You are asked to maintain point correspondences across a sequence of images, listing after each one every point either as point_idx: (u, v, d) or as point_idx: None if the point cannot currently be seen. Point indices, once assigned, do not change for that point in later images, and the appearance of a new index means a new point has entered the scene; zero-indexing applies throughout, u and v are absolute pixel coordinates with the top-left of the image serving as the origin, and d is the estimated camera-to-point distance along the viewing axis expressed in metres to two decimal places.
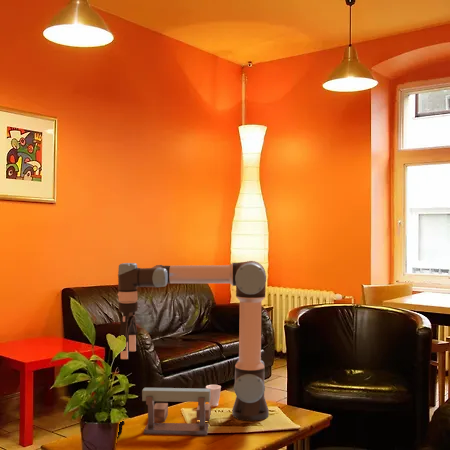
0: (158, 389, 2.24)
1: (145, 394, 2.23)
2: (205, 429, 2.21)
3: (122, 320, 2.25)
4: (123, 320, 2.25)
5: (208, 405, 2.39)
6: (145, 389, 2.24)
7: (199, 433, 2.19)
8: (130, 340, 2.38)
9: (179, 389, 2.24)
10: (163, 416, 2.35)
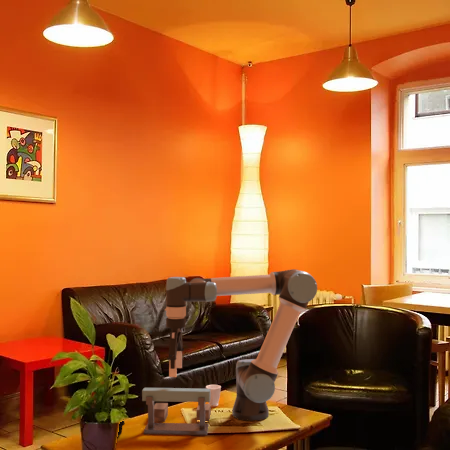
0: (158, 389, 2.24)
1: (145, 394, 2.23)
2: (205, 429, 2.21)
3: (171, 337, 2.17)
4: (172, 337, 2.17)
5: (208, 405, 2.39)
6: (145, 389, 2.24)
7: (199, 433, 2.19)
8: (177, 357, 2.30)
9: (179, 389, 2.24)
10: (163, 416, 2.35)
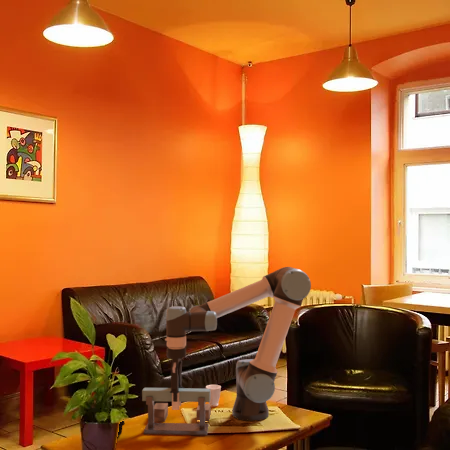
0: (158, 389, 2.24)
1: (145, 394, 2.23)
2: (205, 429, 2.21)
3: (172, 372, 2.18)
4: (173, 372, 2.18)
5: (208, 405, 2.39)
6: (145, 389, 2.24)
7: (199, 433, 2.19)
8: None
9: (179, 389, 2.24)
10: (163, 416, 2.35)
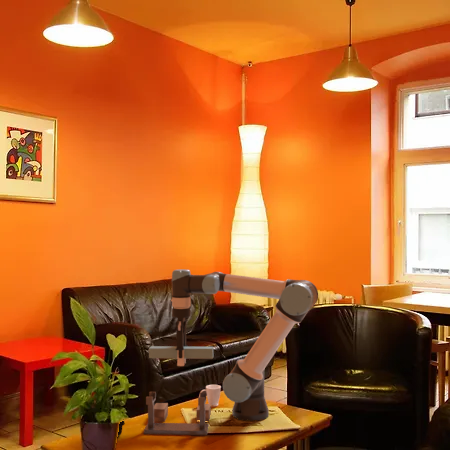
0: (164, 347, 2.38)
1: (151, 352, 2.36)
2: (205, 429, 2.21)
3: (177, 329, 2.31)
4: (178, 329, 2.31)
5: (208, 405, 2.39)
6: (152, 347, 2.38)
7: (199, 433, 2.19)
8: None
9: (184, 347, 2.38)
10: (163, 416, 2.35)
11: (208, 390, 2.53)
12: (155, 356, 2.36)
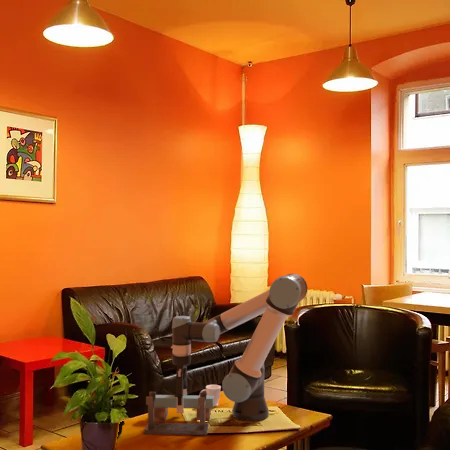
0: (164, 396, 2.38)
1: None
2: (205, 429, 2.21)
3: (177, 375, 2.31)
4: (178, 375, 2.31)
5: None
6: None
7: (199, 433, 2.19)
8: None
9: (184, 396, 2.38)
10: (163, 416, 2.35)
11: (208, 390, 2.53)
12: (155, 405, 2.37)
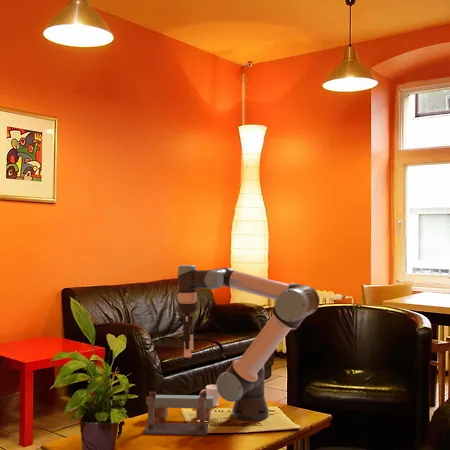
0: (164, 396, 2.38)
1: None
2: (205, 429, 2.21)
3: (185, 320, 2.34)
4: (186, 320, 2.34)
5: None
6: None
7: (199, 433, 2.19)
8: None
9: (184, 396, 2.38)
10: (163, 416, 2.35)
11: (208, 390, 2.53)
12: (155, 405, 2.37)
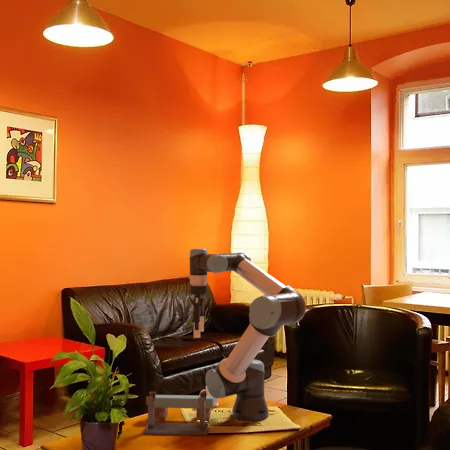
0: (164, 396, 2.38)
1: None
2: (205, 429, 2.21)
3: (195, 301, 2.41)
4: (196, 301, 2.41)
5: None
6: None
7: (199, 433, 2.19)
8: None
9: (184, 396, 2.38)
10: (163, 416, 2.35)
11: None
12: (155, 405, 2.37)
